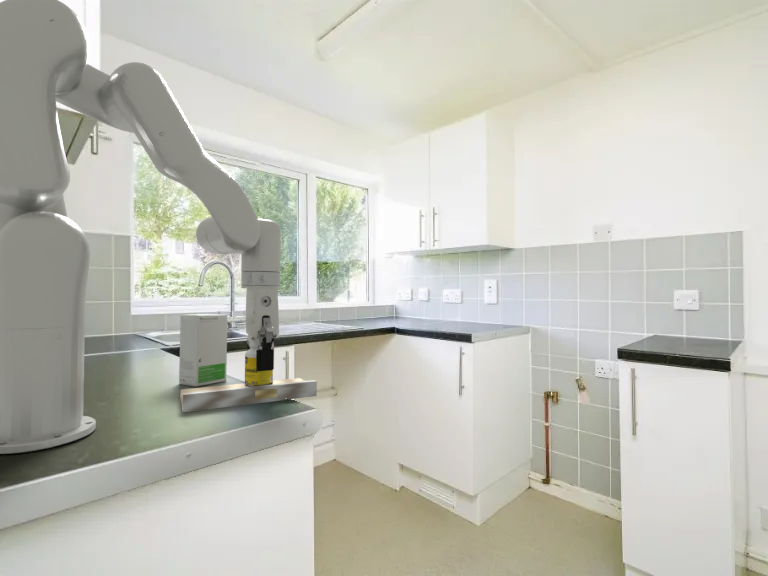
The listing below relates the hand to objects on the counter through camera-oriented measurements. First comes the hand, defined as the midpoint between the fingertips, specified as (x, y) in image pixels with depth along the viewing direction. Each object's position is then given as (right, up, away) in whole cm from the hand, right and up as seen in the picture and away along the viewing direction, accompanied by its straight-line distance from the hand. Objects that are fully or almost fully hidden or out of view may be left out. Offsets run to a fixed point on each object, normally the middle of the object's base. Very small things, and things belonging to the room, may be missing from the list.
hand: (259, 366), depth 80 cm
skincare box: (-16, -6, +10) cm, 20 cm away
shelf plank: (-2, -6, -1) cm, 6 cm away
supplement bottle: (0, -4, 0) cm, 4 cm away
